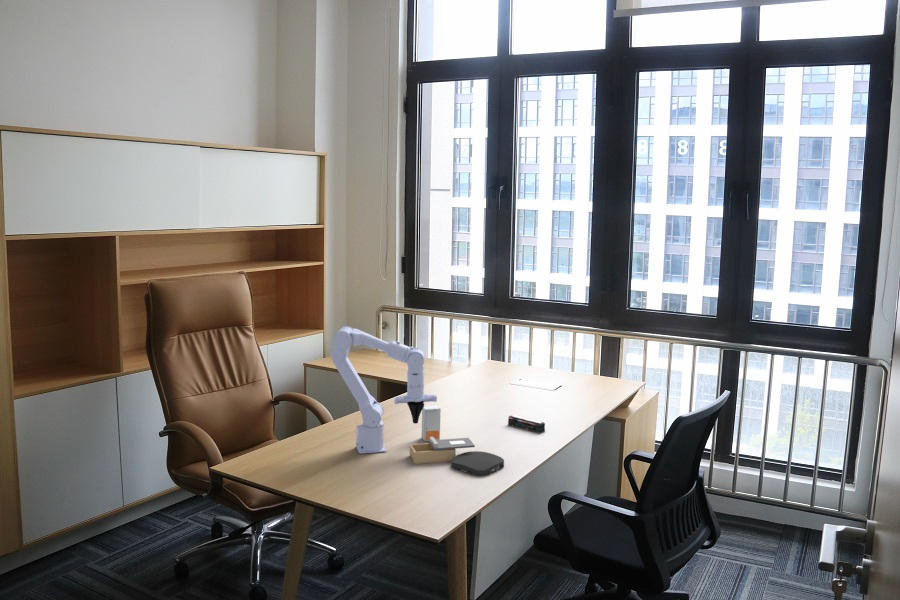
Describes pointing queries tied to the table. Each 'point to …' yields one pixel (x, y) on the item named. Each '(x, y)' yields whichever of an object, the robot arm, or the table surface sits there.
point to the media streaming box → (477, 463)
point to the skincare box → (431, 422)
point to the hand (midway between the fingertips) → (415, 422)
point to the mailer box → (430, 454)
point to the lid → (450, 443)
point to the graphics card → (526, 423)
